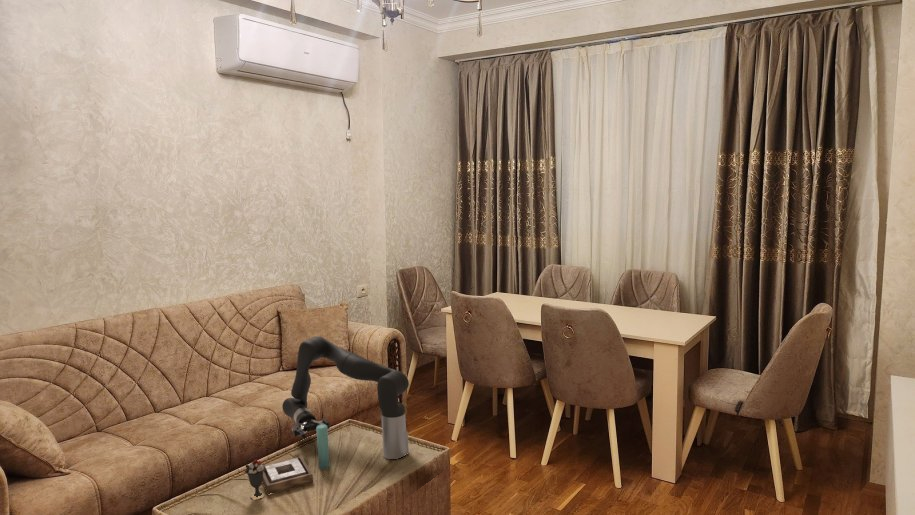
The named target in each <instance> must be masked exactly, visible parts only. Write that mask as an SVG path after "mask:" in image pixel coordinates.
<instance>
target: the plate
mask: <svg viewBox="0 0 915 515" xmlns="http://www.w3.org/2000/svg"><path fill="white" fill-rule="evenodd" d="M295 458H296V457H295ZM291 459H292V458H291ZM290 471H291V472H290ZM265 472H266V476H267V478H268V480H269V482H270V484H271V483H275V482H279V481H283V480H286V479H290V478H294V477H298V476H302V475H306V472H305V470H304V468H303V467H302V465H301V463H300V462H299V460H298V458H296V459H292V460H288V461H284V462H280V463H276V464H272V465H268V466H265ZM286 472H287V473H286ZM282 473H283V474H282Z"/></svg>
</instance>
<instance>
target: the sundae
mask: <svg viewBox="0 0 915 515" xmlns="http://www.w3.org/2000/svg"><path fill="white" fill-rule="evenodd" d="M261 456H262V455H260V454H259V455H258V457H257V458H256V459H254V460H253V461H251V463H249V464H246V465H245V468H246V469H245V470H244V473H246V474H247V477H248V479H249V480H248V481H249V485H250V486H251V487H252V488H254V491H255V492H254V493H255V494H254V493H253V494H254V496H256V497H258V496H261V495H262V493H263V492H262V493H260V492H261V491H260V487H261V486H262V484H263V483H262V482H263V471H264V470H265V466H263V465H264V464H262V462H261V461H260V460H259V459H260V458H261Z"/></svg>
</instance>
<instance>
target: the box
mask: <svg viewBox="0 0 915 515" xmlns="http://www.w3.org/2000/svg"><path fill="white" fill-rule="evenodd" d="M296 458H298V460H299V462H300V463H301V465H302V467H303V468H304V470H305V472H306V475H302V476H298V477H294V478H290V479H286V480H283V481H279V482H275V483H271V484H270V482H269V480H268V478H267V476H266V472H265V470H264V471H263V483H262V484H264V485H263V487H264V486H265V487H264V489H265V488H266V489H265V491H266V490H267V492H266V493H268V494H270V493H274V494H276V492H278V493H282V492H285V491H289V490H293V489H297V488H300V487H303V486H308V485H311V484H314V474H313V472H312V471H311V468H310V467H309V466H308V464H307V463H306V461H305V460H304V458H303V456H302V455H301V456H296V457H292V458H288V459H285V460H283V459H282V460H280V461H275V462H272V463H268V464H262V465H263V466H268V465H272V464H276V463H280V462H284V461H288V460H292V459H296ZM290 472H291V471H290ZM286 473H287V472H286ZM282 474H283V473H282ZM268 494H267V495H268Z"/></svg>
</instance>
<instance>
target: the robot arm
mask: <svg viewBox="0 0 915 515" xmlns="http://www.w3.org/2000/svg"><path fill="white" fill-rule="evenodd" d="M321 358H325V359H328V360H330V361H332V362H333V363H334V364H335V366H336V369H337V370H338V371H339V372H340V373H341V374H343V375H344V376H347V377H349V378H350V379H353V380H358V381H369V382H377V384H376V385H377V387H376V388H377V389H376V390H377V398H378V399H377V400H378V406H379V409H380V414H381V433H382V454H383V457H384V458H385V459H387V460H390V459H397V460H399V459H398V458H401V457H403V456H404V455H405V454H407V453H409V452H410V450H409V432H408V430H407V426H406V424H407V423H406V422H407V421H406V406H405V404H403V403H402V402H399V399H398V397H399V396H400V395H402V394H403V393H404V392H406V391H407V390H408V389H409V387H410V382H409V379H408V377H407V376H406V374H405V373H403V372H402V371H400V370H397V369H394V368H391V367H389V366H384V365H381V364H379V363H376V362H374V361H371V360H369V359H367V358H364V357H363V356H361V355H358V354H356V353H355V352H351V351H349V350H346V349H344V348H343V347H340V346H338V345H336V344H334V343H333V342H331V341H330V340H328V339H327V338H324V337H322V336H318V335H317V336H313V337H311V338H307V339H306V340H304V341H302V342H301V343H300V345H299V348H298V351H297V361H296V362H297V363H296V372H295V377H294V381H293V384H292V388H291V392H290V395H291V396H292V397H288V398H287V397H286V399H285V400H284V401H283V402H282V404H281V405H282V408H281V409H282V411H283V414H285V416H287V417H290V418H291V419H293V420H294V422H295V424H296V425H295V424H292V425H291V432H292V435H293V437H297V436H299V437H300V438H301V439H303V440H304V439H306V433H308V432H310V431H317V430H316V427H317V426H319V425H327V431H328V430H330V429H331V428H330V422H329V420H327V419H326V418H324V417H323V418H322V419H321V420H319V419H317V418H316V416H315V415H314V414H313V412H312V411H311V410H309V408H308V393H309V390H310V387H311V382H312V378H311V375H310V370H309V369H310V367H311V364H312V363H313V362H315V361H317V360H319V359H321ZM328 432H329V431H328ZM409 454H410V453H409ZM403 458H404V457H403ZM401 459H402V458H401Z"/></svg>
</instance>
